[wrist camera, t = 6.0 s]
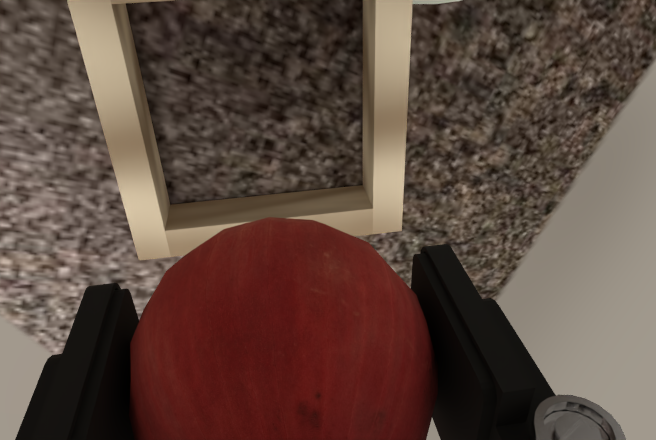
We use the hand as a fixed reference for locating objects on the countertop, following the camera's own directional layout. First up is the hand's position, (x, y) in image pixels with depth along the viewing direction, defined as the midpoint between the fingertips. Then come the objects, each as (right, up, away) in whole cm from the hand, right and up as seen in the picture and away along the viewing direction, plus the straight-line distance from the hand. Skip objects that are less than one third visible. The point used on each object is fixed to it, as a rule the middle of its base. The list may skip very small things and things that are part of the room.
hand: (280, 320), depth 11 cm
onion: (0, +1, +2) cm, 3 cm away
